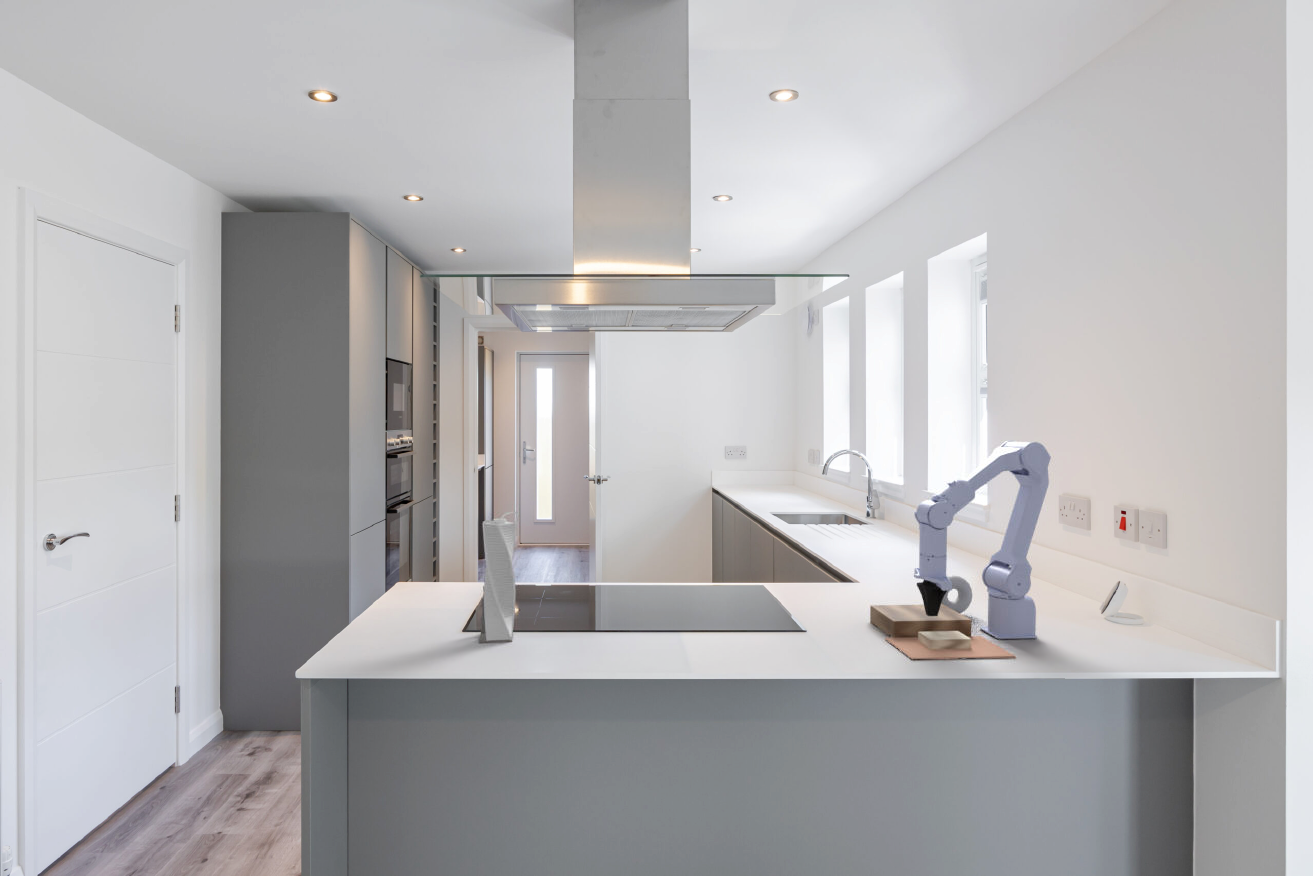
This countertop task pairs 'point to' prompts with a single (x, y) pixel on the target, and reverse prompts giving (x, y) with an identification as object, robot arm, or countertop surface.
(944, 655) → the mat
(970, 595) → the donut
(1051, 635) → the countertop surface
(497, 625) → the skyscraper
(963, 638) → the cream rectangular block
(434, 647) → the countertop surface
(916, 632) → the block
